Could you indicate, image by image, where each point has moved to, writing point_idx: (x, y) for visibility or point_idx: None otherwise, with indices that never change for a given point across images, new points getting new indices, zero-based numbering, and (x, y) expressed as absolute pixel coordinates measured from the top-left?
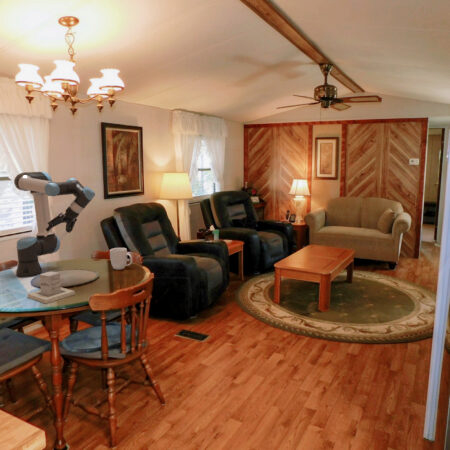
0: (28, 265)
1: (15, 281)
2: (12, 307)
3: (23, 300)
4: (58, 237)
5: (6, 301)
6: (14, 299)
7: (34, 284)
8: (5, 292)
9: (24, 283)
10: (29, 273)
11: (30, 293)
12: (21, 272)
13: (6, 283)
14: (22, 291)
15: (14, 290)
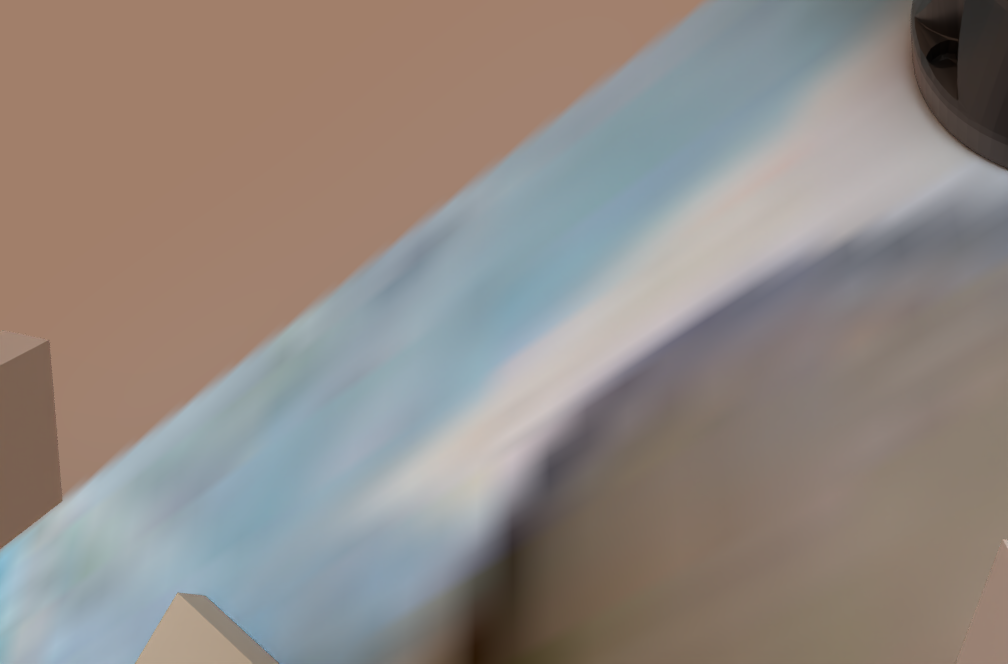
0: (985, 3)
1: (725, 106)
2: (7, 603)
3: (138, 602)
4: (995, 604)
5: (138, 458)
6: (173, 497)
7: (621, 407)
8: (358, 280)
9: (654, 261)
10: (951, 104)
11: (182, 622)
12: (917, 2)
13: (641, 72)
14: (378, 428)
15: (411, 323)
